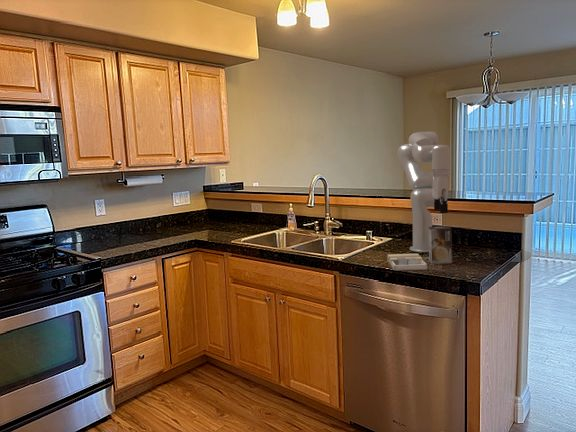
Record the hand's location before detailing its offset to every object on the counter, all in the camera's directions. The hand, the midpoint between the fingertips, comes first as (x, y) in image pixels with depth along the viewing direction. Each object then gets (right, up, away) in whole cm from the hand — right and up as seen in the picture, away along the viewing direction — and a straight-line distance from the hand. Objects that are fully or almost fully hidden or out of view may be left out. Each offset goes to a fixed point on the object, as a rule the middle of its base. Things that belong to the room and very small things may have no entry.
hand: (440, 211), depth 200 cm
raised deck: (-15, -24, +5) cm, 28 cm away
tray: (-15, -25, -4) cm, 30 cm away
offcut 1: (-18, -23, -1) cm, 29 cm away
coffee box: (+1, -23, +3) cm, 24 cm away
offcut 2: (-14, -22, -2) cm, 27 cm away
